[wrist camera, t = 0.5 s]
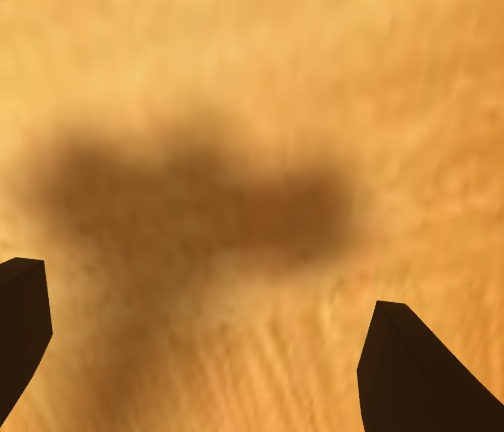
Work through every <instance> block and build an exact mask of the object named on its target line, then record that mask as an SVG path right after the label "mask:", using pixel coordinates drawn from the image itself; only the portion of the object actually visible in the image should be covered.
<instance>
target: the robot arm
mask: <svg viewBox="0 0 504 432" xmlns="http://www.w3.org/2000/svg"><path fill="white" fill-rule="evenodd" d="M52 335H53V331H52V323H51V314H50V306H49V298H48V290H47V281H46V273H45V265H44V260H35V259H27V258H19V257H15V258H13V259H10V260H8V261H6V262H4V263H1V264H0V427H1V426H2V424H3V423H4V421H5V420H6V418H7V416H8V415H9V413H10V412H11V410H12V409H13V407H14V406H15V404H16V402H17V401H18V399H19V398H20V396H21V395H22V393H23V391H24V390H25V388H26V387H27V385H28V383H29V382H30V380H31V379H32V377H33V375H34V373H35V371H36V369H37V367H38V365H39V363H40V361H41V359H42V357H43V355H44V353H45V350H46V348H47V346H48V344H49V342H50V339H51V337H52ZM357 379H358V389H359V399H360V408H361V416H362V421H363V425H364V430H365V432H504V405H503V404H502V403H501V402H500V401H499V400H498V399H497V398H495V397H494V396H493V395H492V394H491V393H490V392H489V391H488V390H487V389H486V388H485V387H484V386H483V385H482V384H481V383H480V382H479V381H478V380H477V379H476V378H475V377H474V376H473V375H472V374H471V373H470V372H469V371H468V370H467V368H466V367H465V366H464V365H463V364H462V363H461V362H460V361H459V360H458V359H457V358H456V357H455V356H454V355H453V354H452V353H451V352H450V351H449V350H448V349H447V347H446V346H445V345H444V344H443V343H442V342H441V341H440V340H439V339H438V338H437V337H436V336H435V334H434V333H433V332H432V331H431V330H430V329H429V328H428V327H427V326H426V325H425V324H424V323H423V322H422V320H421V319H420V318H419V317H418V316H417V315H416V314H415V313H414V312H413V311H412V310H411V309H410V308H409V307H408V306H407V305H406V304H403V303H395V302H387V301H378V300H377V302H376V306H375V309H374V313H373V316H372V320H371V323H370V326H369V330H368V333H367V337H366V340H365V344H364V347H363V350H362V354H361V357H360V361H359V364H358V368H357Z"/></svg>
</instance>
